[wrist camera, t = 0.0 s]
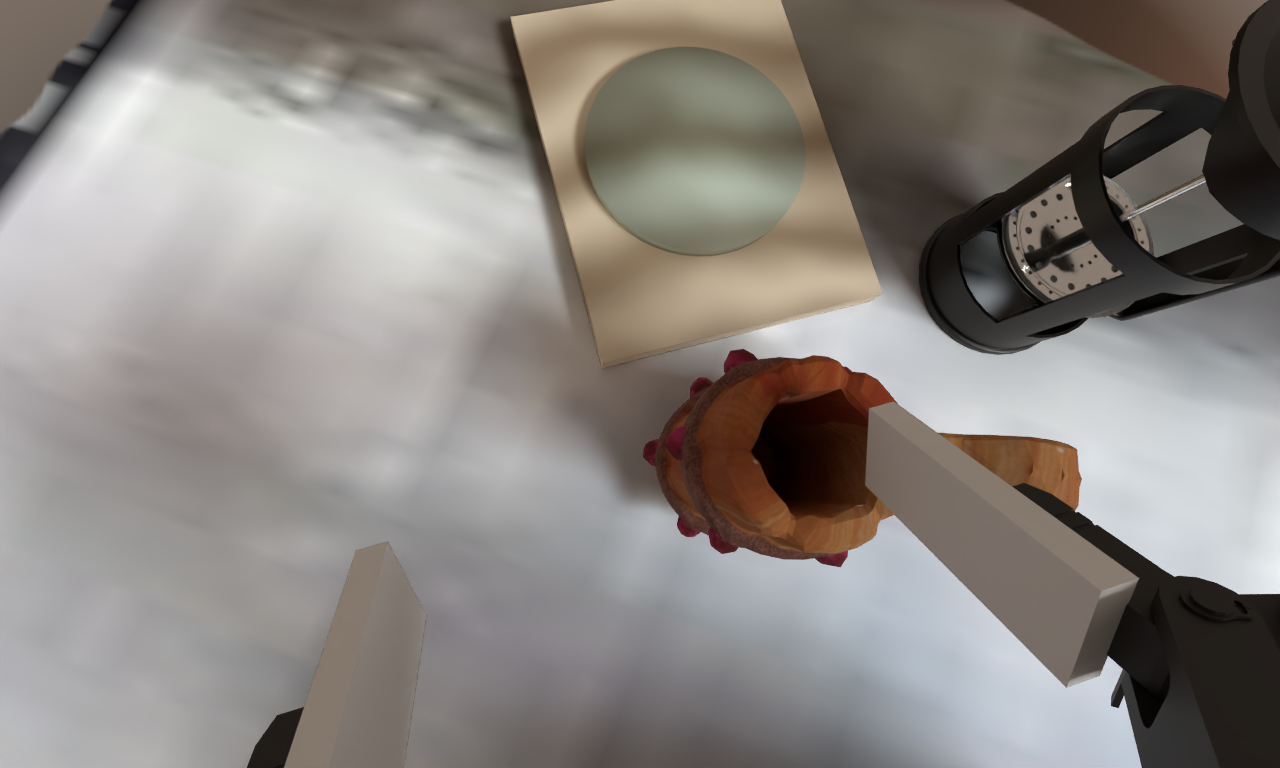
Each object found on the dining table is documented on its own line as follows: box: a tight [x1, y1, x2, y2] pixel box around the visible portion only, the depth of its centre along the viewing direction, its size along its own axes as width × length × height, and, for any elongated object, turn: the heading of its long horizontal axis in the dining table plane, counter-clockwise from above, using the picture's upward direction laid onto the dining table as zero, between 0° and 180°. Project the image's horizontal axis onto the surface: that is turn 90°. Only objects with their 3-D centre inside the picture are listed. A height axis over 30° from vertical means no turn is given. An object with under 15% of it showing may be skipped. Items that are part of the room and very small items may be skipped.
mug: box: [643, 349, 1082, 567], centre depth 23 cm, size 15×8×15 cm, turn 83°
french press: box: [919, 0, 1280, 355], centre depth 23 cm, size 12×9×23 cm
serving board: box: [511, 0, 883, 368], centre depth 32 cm, size 22×17×2 cm
